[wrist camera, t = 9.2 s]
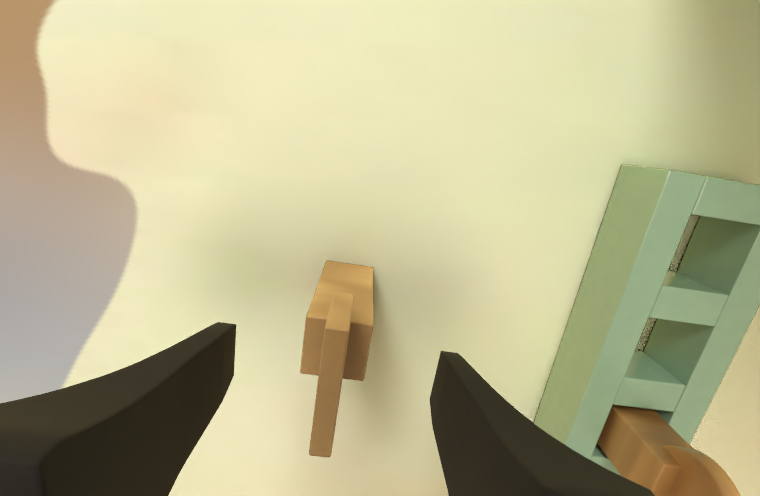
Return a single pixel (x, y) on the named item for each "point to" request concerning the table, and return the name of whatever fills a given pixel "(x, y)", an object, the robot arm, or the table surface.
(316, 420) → the wooden t-shaped block
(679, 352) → the rack
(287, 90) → the table surface
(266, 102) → the table surface
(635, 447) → the wooden block with tab
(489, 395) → the robot arm
